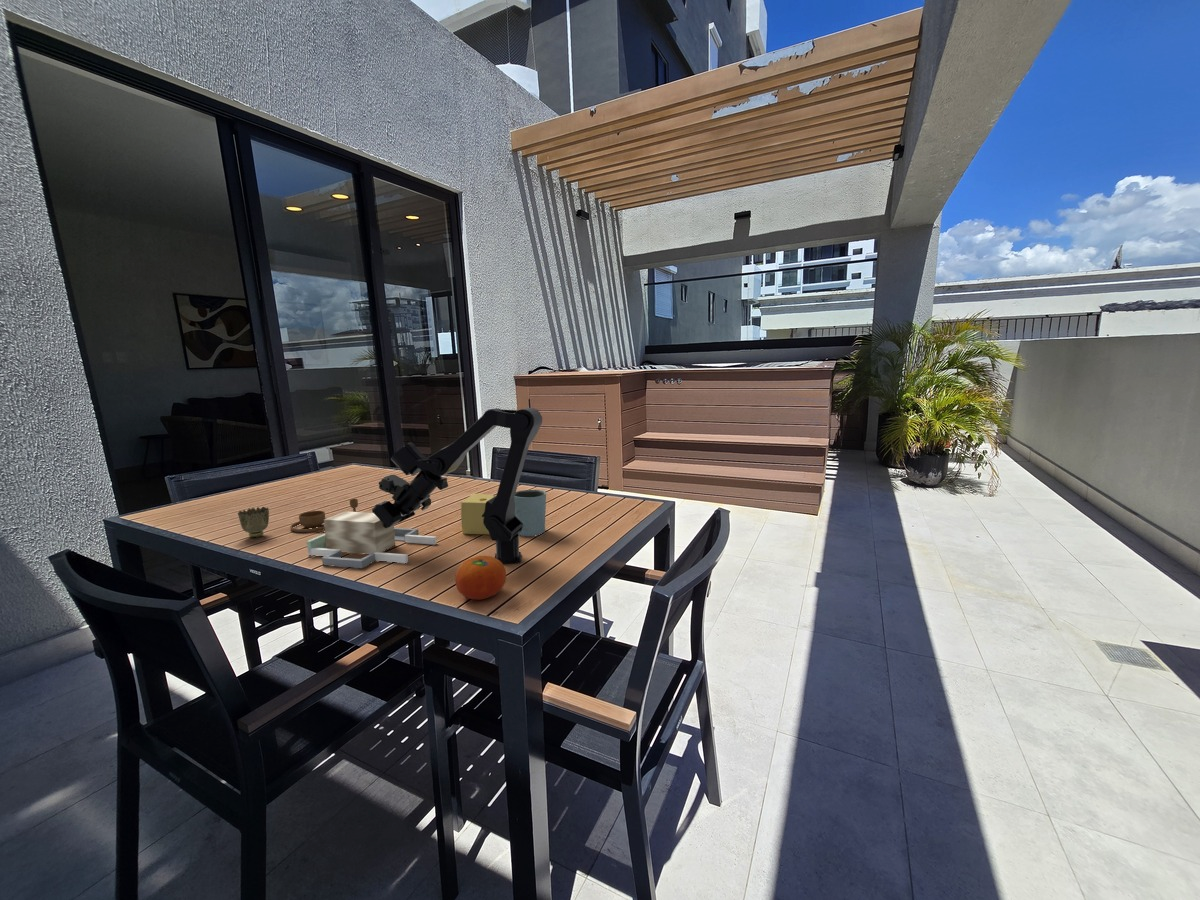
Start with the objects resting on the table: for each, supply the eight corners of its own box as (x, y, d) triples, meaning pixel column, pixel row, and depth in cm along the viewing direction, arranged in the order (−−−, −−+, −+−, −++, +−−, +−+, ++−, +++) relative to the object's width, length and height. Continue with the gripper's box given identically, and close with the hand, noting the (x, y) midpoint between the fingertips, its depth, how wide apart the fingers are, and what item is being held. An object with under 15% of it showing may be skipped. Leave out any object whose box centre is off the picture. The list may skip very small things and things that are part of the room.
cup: (239, 536, 143) (236, 509, 142) (269, 530, 148) (266, 505, 146) (242, 542, 137) (239, 515, 136) (273, 536, 142) (270, 510, 141)
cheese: (505, 524, 154) (504, 493, 152) (494, 535, 143) (493, 502, 141) (473, 523, 155) (471, 493, 153) (460, 534, 144) (458, 501, 142)
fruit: (467, 583, 110) (466, 549, 109) (512, 585, 109) (511, 551, 108) (448, 605, 100) (446, 568, 98) (497, 608, 98) (495, 570, 97)
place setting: (289, 524, 156) (287, 506, 155) (358, 514, 167) (357, 497, 166) (292, 540, 141) (290, 520, 140) (367, 527, 152) (365, 509, 151)
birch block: (395, 545, 135) (393, 514, 134) (376, 555, 127) (374, 522, 126) (347, 542, 138) (345, 511, 137) (326, 552, 130) (323, 519, 129)
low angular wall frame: (445, 537, 141) (444, 524, 141) (393, 571, 117) (392, 555, 116) (359, 531, 146) (358, 519, 146) (292, 563, 122) (291, 547, 122)
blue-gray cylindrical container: (532, 539, 139) (531, 499, 137) (505, 534, 144) (504, 494, 143) (553, 530, 148) (553, 491, 146) (527, 525, 153) (527, 487, 151)
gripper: (418, 459, 136) (385, 496, 139) (376, 472, 117) (339, 514, 121) (446, 488, 135) (412, 524, 139) (408, 506, 117) (370, 547, 121)
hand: (385, 526), depth 130 cm, fingers closed
